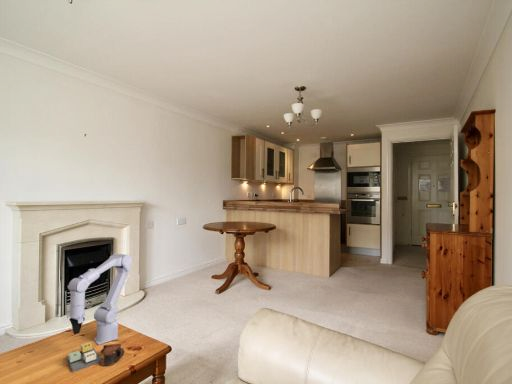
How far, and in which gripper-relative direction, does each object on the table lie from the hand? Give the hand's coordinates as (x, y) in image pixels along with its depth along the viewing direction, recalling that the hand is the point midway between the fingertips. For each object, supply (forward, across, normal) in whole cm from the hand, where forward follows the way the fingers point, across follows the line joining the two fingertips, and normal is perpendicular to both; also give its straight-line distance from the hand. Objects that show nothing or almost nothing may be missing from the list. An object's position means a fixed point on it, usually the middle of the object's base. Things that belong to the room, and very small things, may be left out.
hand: (76, 333), depth 131 cm
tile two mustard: (+7, +4, +4) cm, 9 cm away
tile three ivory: (+8, +12, +3) cm, 14 cm away
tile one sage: (+8, +7, -2) cm, 11 cm away
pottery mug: (+10, +16, +11) cm, 22 cm away
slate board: (+10, +8, +2) cm, 13 cm away
